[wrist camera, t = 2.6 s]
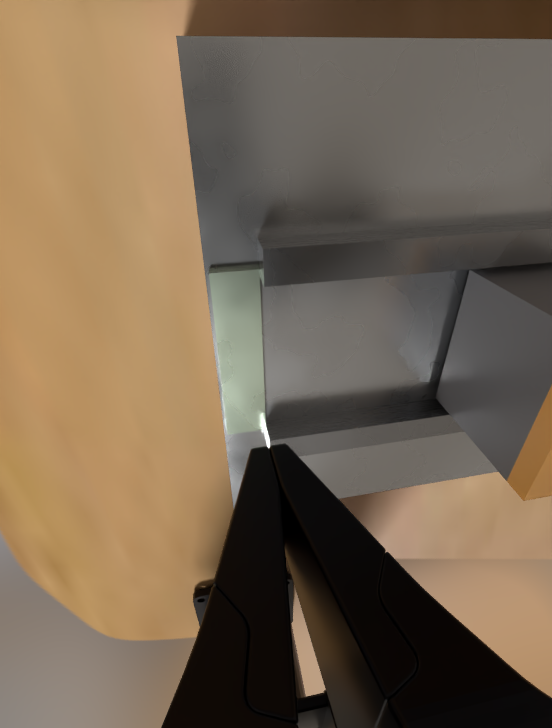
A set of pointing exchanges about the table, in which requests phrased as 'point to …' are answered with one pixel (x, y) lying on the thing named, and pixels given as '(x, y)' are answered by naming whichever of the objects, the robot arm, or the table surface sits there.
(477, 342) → the toggle
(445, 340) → the panel
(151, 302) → the table surface
